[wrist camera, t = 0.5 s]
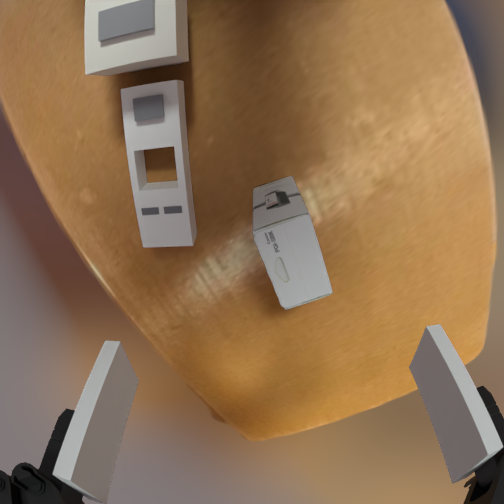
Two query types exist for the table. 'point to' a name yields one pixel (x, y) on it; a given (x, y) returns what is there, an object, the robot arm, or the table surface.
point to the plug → (134, 35)
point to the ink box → (288, 244)
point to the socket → (137, 140)
